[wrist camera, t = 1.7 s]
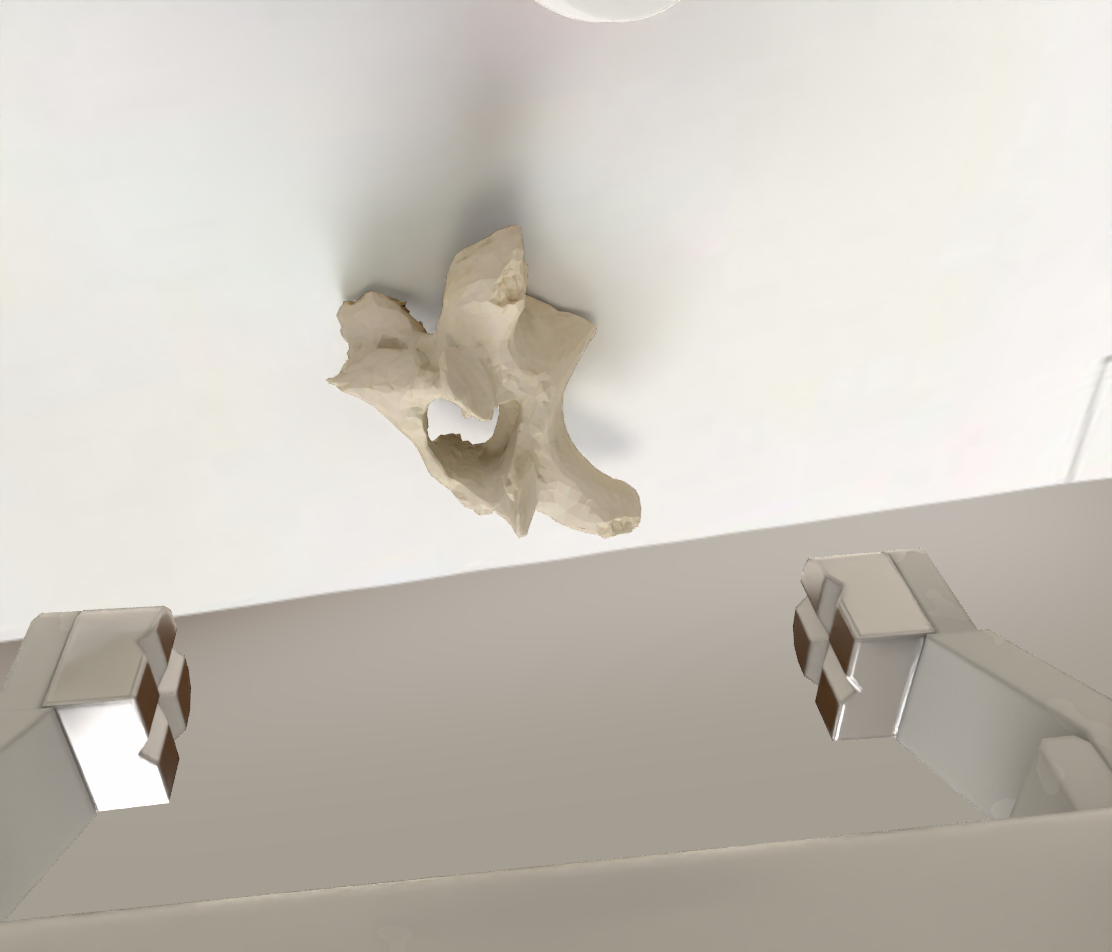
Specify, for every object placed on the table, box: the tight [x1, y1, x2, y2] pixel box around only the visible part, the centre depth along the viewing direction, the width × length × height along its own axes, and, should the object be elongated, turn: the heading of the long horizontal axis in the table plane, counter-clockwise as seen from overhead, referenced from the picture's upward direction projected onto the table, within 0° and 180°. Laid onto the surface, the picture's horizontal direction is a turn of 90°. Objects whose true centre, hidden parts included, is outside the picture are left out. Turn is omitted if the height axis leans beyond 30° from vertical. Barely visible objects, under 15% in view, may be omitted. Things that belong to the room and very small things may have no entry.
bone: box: [326, 225, 641, 539], centre depth 40 cm, size 9×14×8 cm, turn 36°
